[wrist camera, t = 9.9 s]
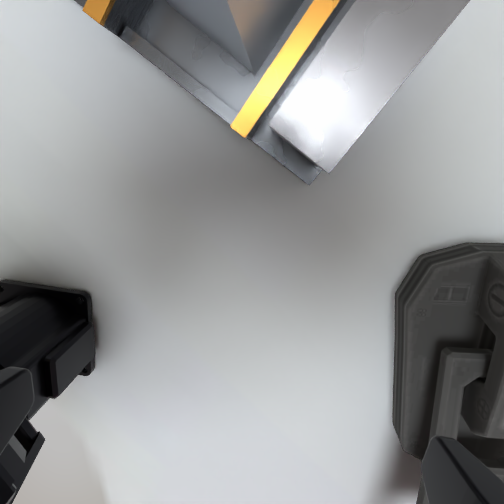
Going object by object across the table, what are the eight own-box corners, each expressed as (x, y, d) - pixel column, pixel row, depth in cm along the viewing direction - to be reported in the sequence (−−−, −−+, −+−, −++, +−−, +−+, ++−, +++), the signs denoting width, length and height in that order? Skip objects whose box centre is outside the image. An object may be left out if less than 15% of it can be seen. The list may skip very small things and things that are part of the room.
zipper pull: (382, 650, 20) (463, 287, 12) (358, 531, 27) (402, 239, 19) (534, 670, 20) (721, 295, 12) (473, 542, 26) (568, 243, 18)
